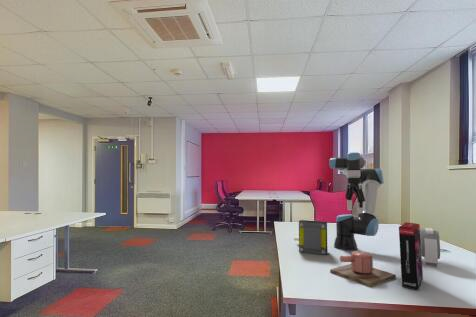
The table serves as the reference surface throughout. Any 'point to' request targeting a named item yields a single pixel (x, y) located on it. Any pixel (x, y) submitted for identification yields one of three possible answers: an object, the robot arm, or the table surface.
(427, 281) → the table surface
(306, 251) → the electrical component
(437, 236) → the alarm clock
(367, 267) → the cap
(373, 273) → the base
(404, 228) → the graphics card box
